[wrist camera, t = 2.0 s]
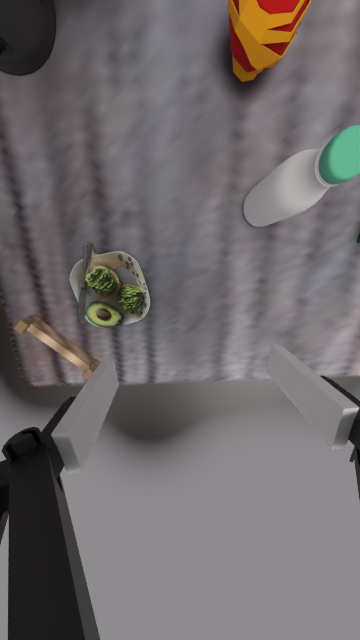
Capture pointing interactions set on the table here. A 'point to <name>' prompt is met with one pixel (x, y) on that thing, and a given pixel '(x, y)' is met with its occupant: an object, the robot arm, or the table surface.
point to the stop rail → (58, 343)
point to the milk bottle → (304, 179)
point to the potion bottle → (262, 32)
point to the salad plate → (108, 289)
